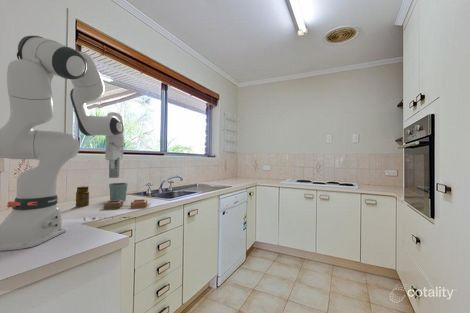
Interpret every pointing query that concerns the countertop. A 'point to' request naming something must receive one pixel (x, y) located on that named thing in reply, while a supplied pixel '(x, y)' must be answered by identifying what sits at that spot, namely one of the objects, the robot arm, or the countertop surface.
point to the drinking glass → (118, 191)
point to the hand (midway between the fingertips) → (114, 168)
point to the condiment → (82, 196)
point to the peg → (114, 169)
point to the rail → (119, 204)
